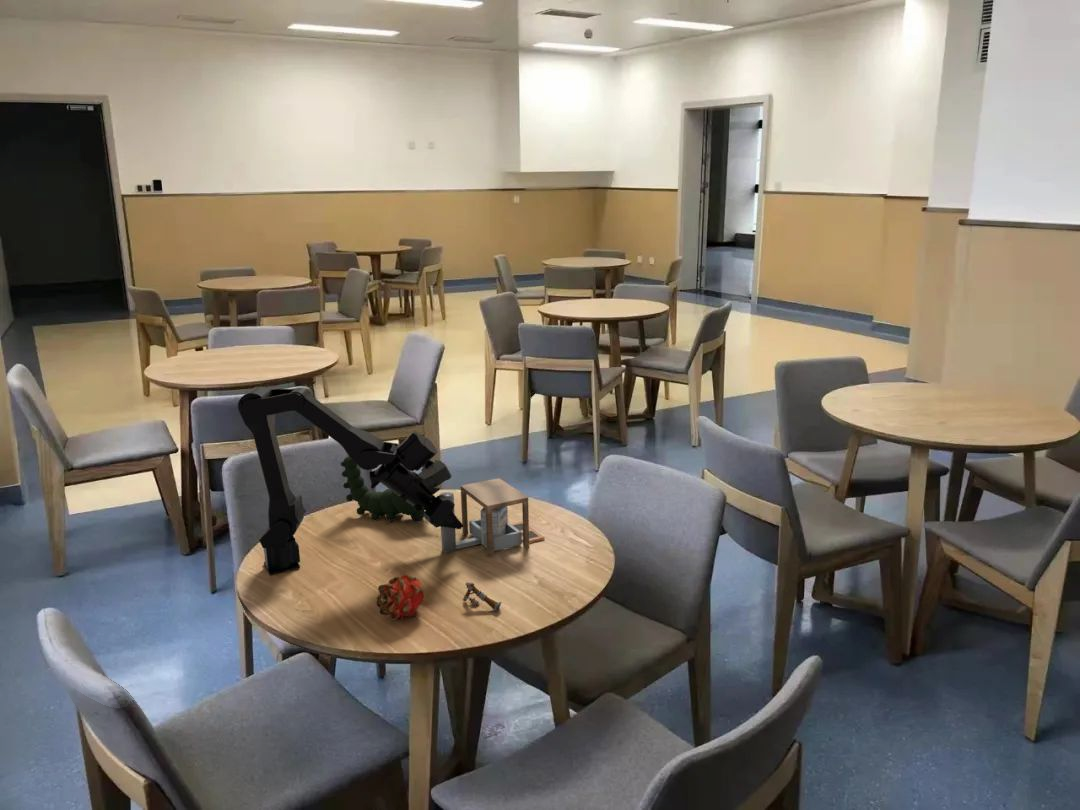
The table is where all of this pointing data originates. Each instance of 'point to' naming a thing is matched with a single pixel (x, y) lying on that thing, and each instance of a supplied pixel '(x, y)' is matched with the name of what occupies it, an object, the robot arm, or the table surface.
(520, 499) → the miniature wooden table
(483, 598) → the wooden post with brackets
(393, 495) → the toy figurine
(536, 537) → the pit plate
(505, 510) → the medicine box
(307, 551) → the table surface
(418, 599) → the dragon fruit
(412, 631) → the table surface
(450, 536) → the grey post with tray
